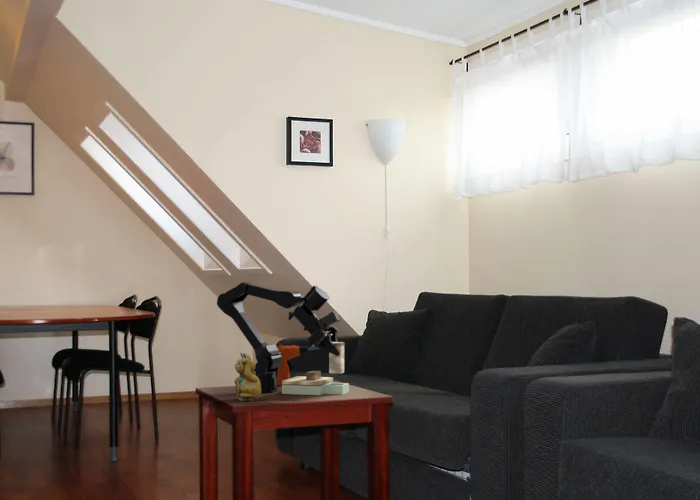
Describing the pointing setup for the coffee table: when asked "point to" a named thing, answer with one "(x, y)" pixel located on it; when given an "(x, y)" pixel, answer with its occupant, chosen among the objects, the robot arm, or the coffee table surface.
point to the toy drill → (287, 354)
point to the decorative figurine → (246, 379)
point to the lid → (309, 379)
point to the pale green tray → (316, 389)
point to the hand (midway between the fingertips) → (340, 354)
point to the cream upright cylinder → (337, 359)
